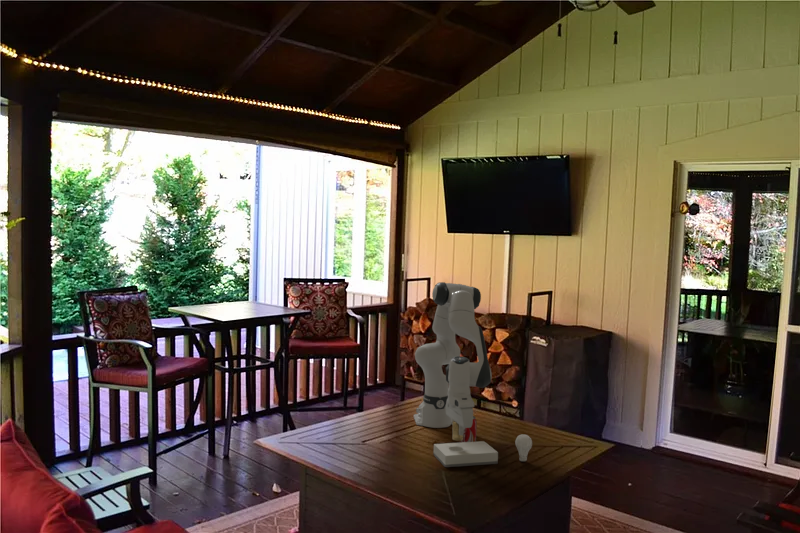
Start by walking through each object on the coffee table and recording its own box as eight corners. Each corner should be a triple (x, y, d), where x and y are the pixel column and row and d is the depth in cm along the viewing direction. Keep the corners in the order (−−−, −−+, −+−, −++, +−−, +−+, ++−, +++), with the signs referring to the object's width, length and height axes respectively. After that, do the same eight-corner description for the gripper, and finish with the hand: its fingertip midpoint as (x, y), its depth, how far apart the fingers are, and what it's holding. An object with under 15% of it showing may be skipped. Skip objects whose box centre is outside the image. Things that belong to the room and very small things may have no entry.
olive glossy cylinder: (450, 437, 252) (451, 420, 252) (460, 437, 254) (461, 419, 253) (454, 441, 248) (455, 423, 248) (465, 440, 249) (465, 422, 249)
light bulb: (511, 459, 254) (512, 432, 253) (525, 458, 256) (526, 431, 256) (520, 465, 247) (521, 438, 247) (534, 463, 250) (535, 436, 250)
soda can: (475, 447, 267) (476, 419, 266) (458, 446, 268) (459, 418, 268) (476, 442, 274) (477, 415, 273) (460, 441, 275) (461, 414, 275)
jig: (433, 455, 256) (433, 444, 256) (483, 451, 262) (483, 441, 262) (445, 467, 243) (445, 455, 243) (497, 463, 249) (498, 452, 249)
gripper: (442, 392, 259) (441, 425, 260) (460, 404, 240) (459, 440, 240) (456, 391, 261) (455, 424, 262) (476, 404, 242) (475, 439, 242)
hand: (457, 432), depth 251 cm, fingers closed on olive glossy cylinder, 4 cm apart
